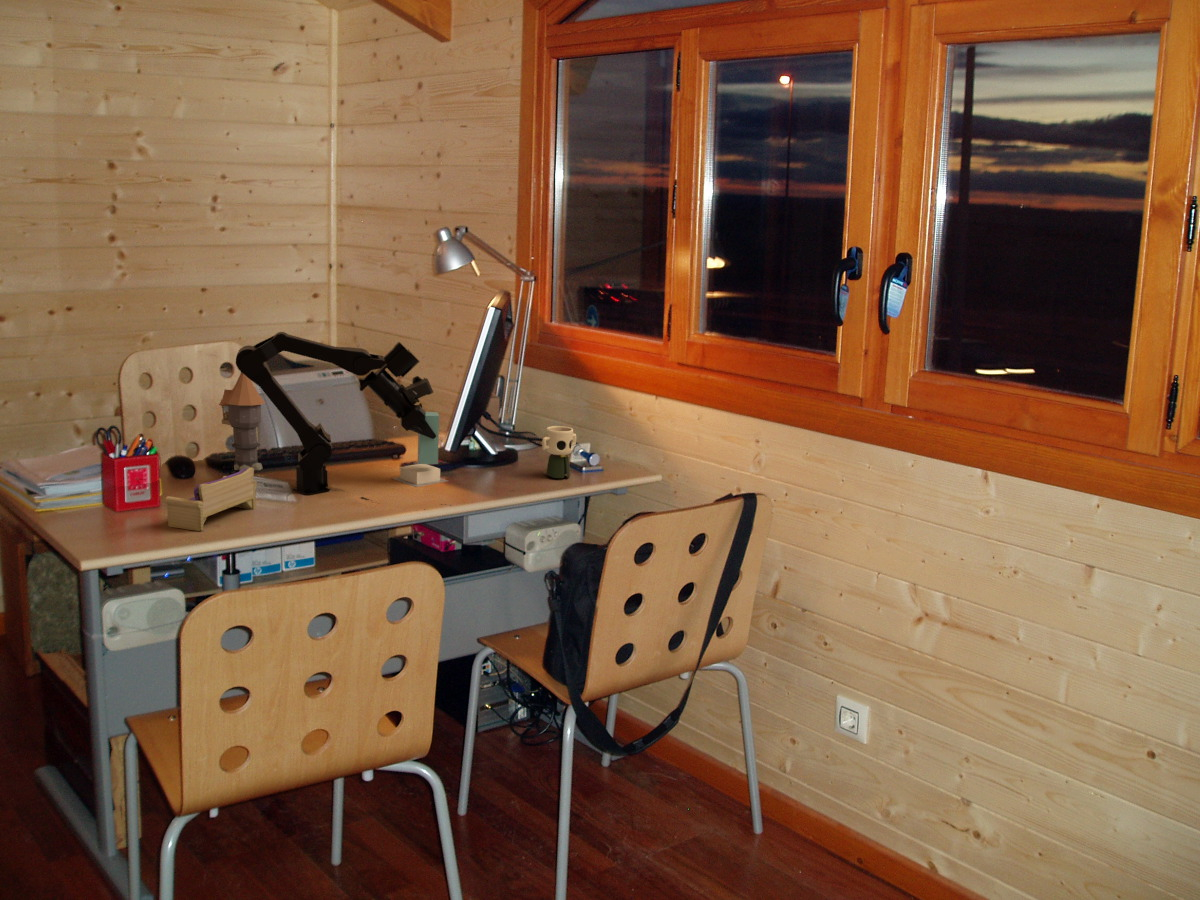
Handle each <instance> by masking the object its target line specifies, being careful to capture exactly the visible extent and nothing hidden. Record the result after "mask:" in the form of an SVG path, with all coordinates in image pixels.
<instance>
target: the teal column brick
mask: <svg viewBox="0 0 1200 900" xmlns="http://www.w3.org/2000/svg"><path fill="white" fill-rule="evenodd" d="M425 412H426V415H425V420H426V421H427V423H428V424H429V426H430V427H431V429H432V430H433V432H434V433H435V435H436V438H434V439H431V438H429V437H426V436H424V435H422V434H419V433H417V439H418V440H417V461H418V464H427V465H439V443H440V441H439V437H440V436H439V435H440V434H439V433H440V414H439V413H438V412H437V411H435V412H434V411H425Z"/></svg>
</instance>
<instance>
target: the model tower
mask: <svg viewBox="0 0 1200 900" xmlns="http://www.w3.org/2000/svg"><path fill="white" fill-rule="evenodd" d="M263 404H266V402H265V400H264V399H263V398H262V397H261V395H260V394H259V392H258V390H257V389H256V387H255V385H254V382H253V381H251V380H250V379H249V378H248V377H247V376H245V375H244V374H243V373H242V372H241V371H240V374H239V376H238V378H237V381H236V382H235V384H234V385H233V388H232V389H225V388H224V391H223V395H222V398H221V400H220V402H219V404H218V406H220V407H221V410H222V419H221V424H222V425H227V426H230V427H231V428H232V431H233V432H232V433H233V434H232V435H233V443H231V447H232V448H233V449H234V464H233V466H234V470H233V471H238V472H239V471H241V470H243V469H246V468H249V467H251V468H253V469H254V471H261V470H263V465H262V463H261V462H259V460H258V448H259V447H260V446H261V443H260V442H258V436H257V428H259V426H260V423H261V421H262V406H261V405H263ZM225 407H227V408H228V409H227V411H226V412H225V410H224V409H225Z"/></svg>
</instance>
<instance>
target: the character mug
mask: <svg viewBox="0 0 1200 900" xmlns="http://www.w3.org/2000/svg"><path fill="white" fill-rule="evenodd" d="M541 442H542V443H541V448H542V450H544V451H545V452H546V453H549V454H550V455H549V456H548V460H547V461H548V462H547V467H546V476H548V477H550V478H553V479H564V478H565V475H566V478H569V477H570V476H571V472H570V471H571V470H570V460H569V459H570V458H569V456H568V455H569V454H571V453H572V452H573V450H574V446H576V444H577V434H576V433H574V428H572V427H571V426H570V427H569V426H563V425H561V426H560V425H553V426H548V427H546V430H545V437H542V441H541Z"/></svg>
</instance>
